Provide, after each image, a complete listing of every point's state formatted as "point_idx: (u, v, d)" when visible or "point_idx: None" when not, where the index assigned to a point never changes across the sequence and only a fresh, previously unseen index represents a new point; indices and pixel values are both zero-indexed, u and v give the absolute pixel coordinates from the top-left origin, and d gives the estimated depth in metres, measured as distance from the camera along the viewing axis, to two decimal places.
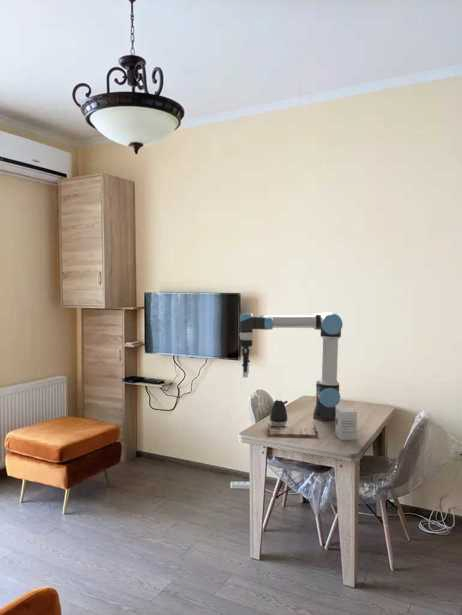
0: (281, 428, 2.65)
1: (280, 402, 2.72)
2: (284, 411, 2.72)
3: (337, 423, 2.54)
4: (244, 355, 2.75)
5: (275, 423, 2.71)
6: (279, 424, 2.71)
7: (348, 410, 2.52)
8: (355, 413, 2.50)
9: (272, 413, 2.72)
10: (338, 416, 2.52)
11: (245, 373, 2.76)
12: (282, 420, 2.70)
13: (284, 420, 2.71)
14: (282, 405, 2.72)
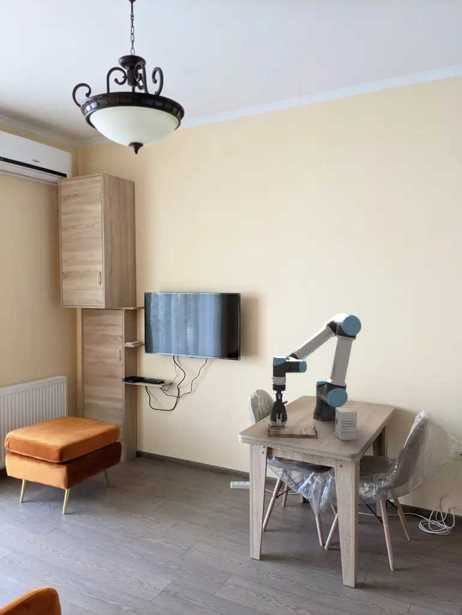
0: (281, 428, 2.65)
1: None
2: (284, 411, 2.72)
3: (337, 423, 2.54)
4: (278, 402, 2.67)
5: (275, 423, 2.71)
6: None
7: (348, 410, 2.52)
8: (355, 413, 2.50)
9: (272, 413, 2.72)
10: (338, 416, 2.52)
11: (279, 420, 2.69)
12: (282, 420, 2.70)
13: (284, 420, 2.71)
14: (282, 405, 2.72)
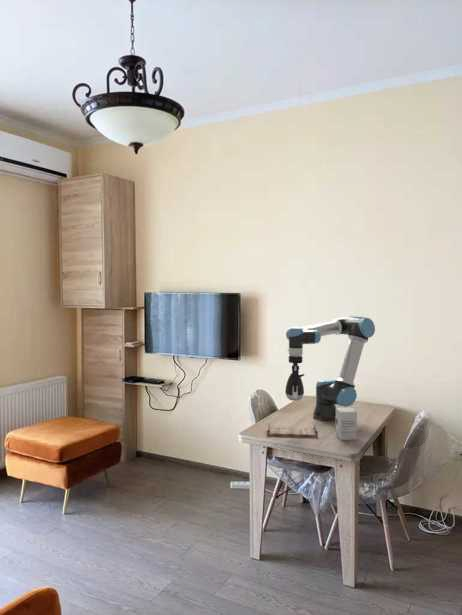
0: (281, 428, 2.65)
1: None
2: (300, 384, 2.61)
3: (337, 423, 2.54)
4: (294, 374, 2.57)
5: (291, 396, 2.60)
6: None
7: (348, 410, 2.52)
8: (355, 413, 2.50)
9: (288, 386, 2.62)
10: (338, 416, 2.52)
11: (295, 393, 2.58)
12: (298, 393, 2.59)
13: (300, 393, 2.60)
14: (298, 378, 2.61)
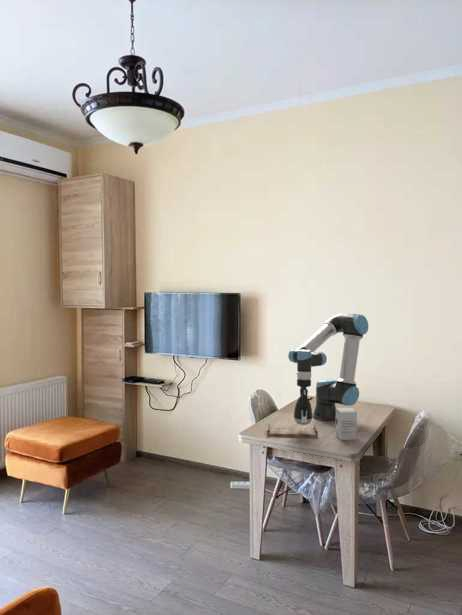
0: (281, 428, 2.65)
1: None
2: (309, 408, 2.56)
3: (337, 423, 2.54)
4: (303, 398, 2.52)
5: (300, 420, 2.56)
6: (304, 422, 2.55)
7: (348, 410, 2.52)
8: (355, 413, 2.50)
9: (296, 410, 2.57)
10: (338, 416, 2.52)
11: (304, 418, 2.54)
12: (307, 417, 2.55)
13: (309, 417, 2.56)
14: (307, 401, 2.57)
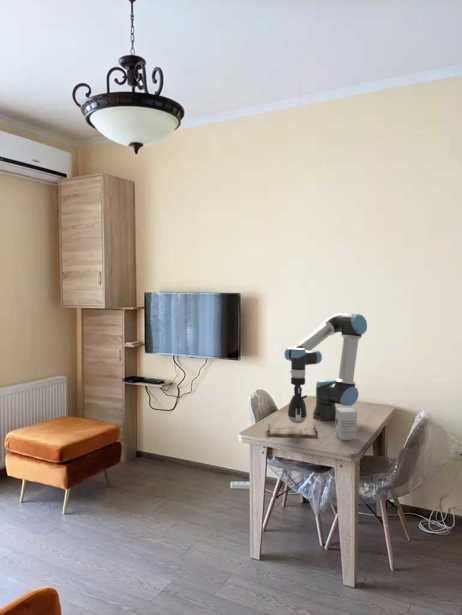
0: (281, 428, 2.65)
1: None
2: (303, 406, 2.57)
3: (337, 423, 2.54)
4: (298, 396, 2.52)
5: (294, 419, 2.56)
6: None
7: (348, 410, 2.52)
8: (355, 413, 2.50)
9: (291, 408, 2.57)
10: (338, 416, 2.52)
11: (298, 416, 2.54)
12: (301, 416, 2.55)
13: (303, 416, 2.56)
14: (301, 400, 2.57)
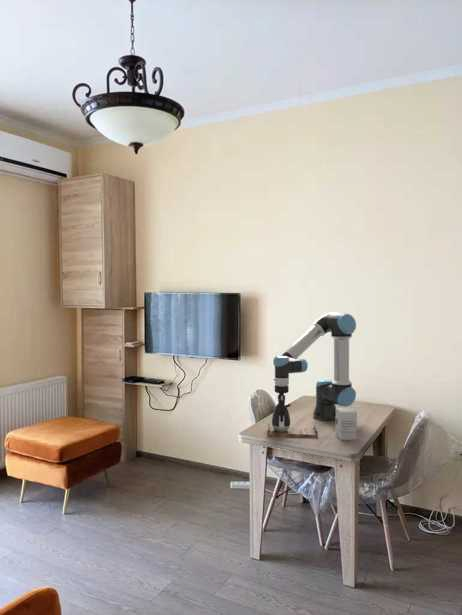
0: None
1: None
2: (287, 415, 2.58)
3: (337, 423, 2.54)
4: (281, 403, 2.53)
5: (277, 428, 2.57)
6: (281, 429, 2.56)
7: (348, 410, 2.52)
8: (355, 413, 2.50)
9: (274, 417, 2.58)
10: (338, 416, 2.52)
11: (281, 423, 2.54)
12: (285, 424, 2.56)
13: (287, 424, 2.57)
14: (285, 409, 2.58)
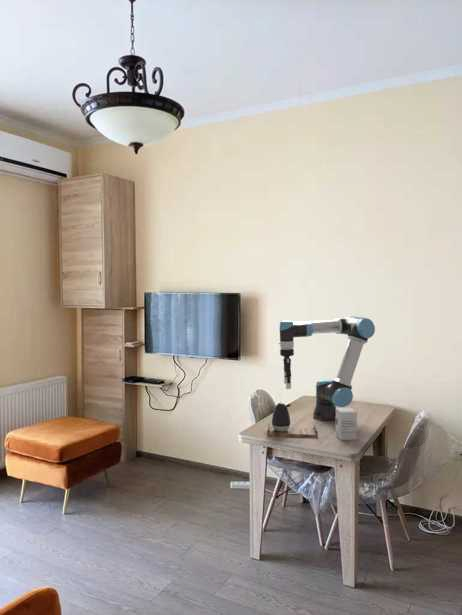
0: None
1: (282, 405, 2.58)
2: (287, 415, 2.58)
3: (337, 423, 2.54)
4: (287, 365, 2.60)
5: (277, 428, 2.57)
6: (281, 429, 2.56)
7: (348, 410, 2.52)
8: (355, 413, 2.50)
9: (274, 417, 2.58)
10: (338, 416, 2.52)
11: (288, 384, 2.61)
12: (285, 424, 2.56)
13: (287, 424, 2.57)
14: (285, 408, 2.58)
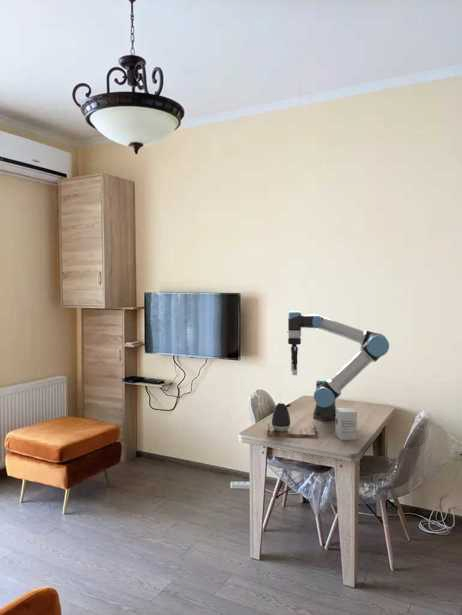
0: None
1: (282, 405, 2.58)
2: (287, 415, 2.58)
3: (337, 423, 2.54)
4: (294, 353, 2.76)
5: (277, 428, 2.57)
6: (281, 429, 2.56)
7: (348, 410, 2.52)
8: (355, 413, 2.50)
9: (274, 417, 2.58)
10: (338, 416, 2.52)
11: (294, 371, 2.77)
12: (285, 424, 2.56)
13: (287, 424, 2.57)
14: (285, 408, 2.58)
